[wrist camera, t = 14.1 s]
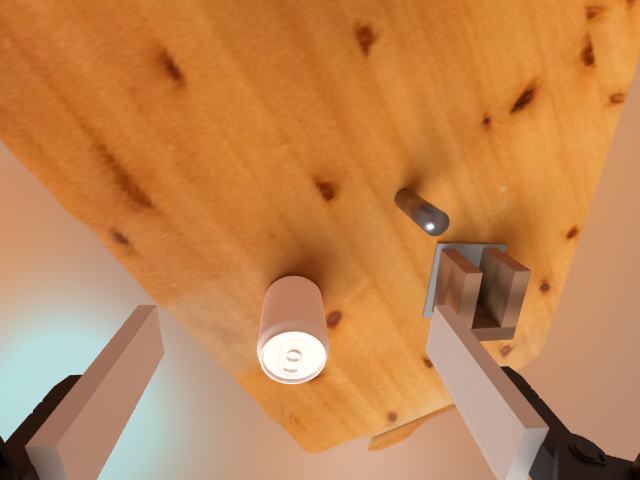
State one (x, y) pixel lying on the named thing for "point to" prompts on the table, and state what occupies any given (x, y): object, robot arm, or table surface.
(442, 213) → the post
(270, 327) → the beverage can
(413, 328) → the table surface
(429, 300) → the mat
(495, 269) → the c link
